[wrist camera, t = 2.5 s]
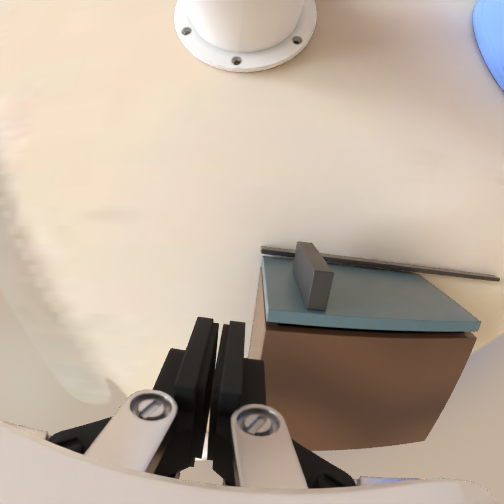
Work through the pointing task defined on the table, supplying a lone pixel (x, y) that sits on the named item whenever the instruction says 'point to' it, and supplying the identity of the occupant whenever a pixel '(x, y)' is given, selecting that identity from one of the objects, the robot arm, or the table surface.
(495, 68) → the water jug
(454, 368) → the cabinet
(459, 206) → the table surface
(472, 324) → the glass door
